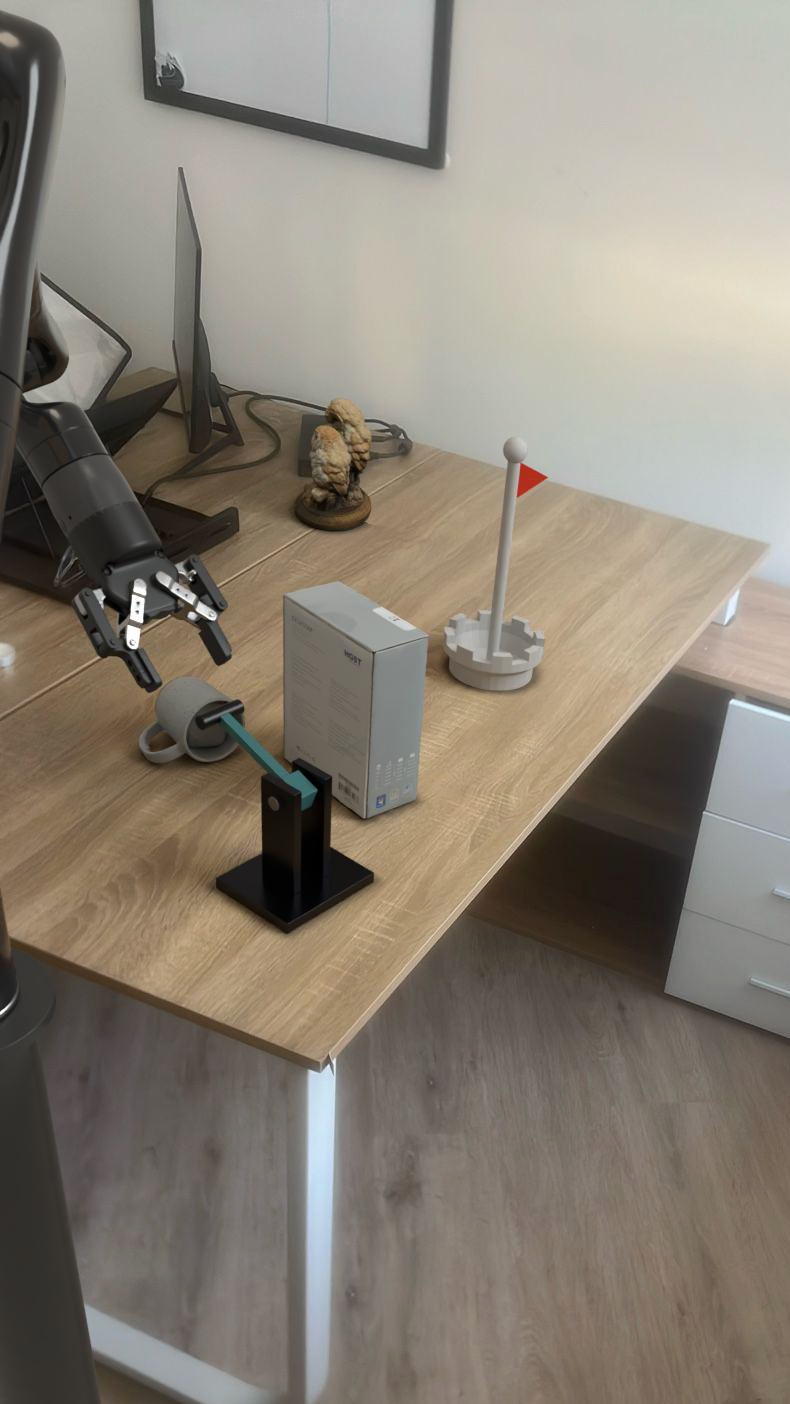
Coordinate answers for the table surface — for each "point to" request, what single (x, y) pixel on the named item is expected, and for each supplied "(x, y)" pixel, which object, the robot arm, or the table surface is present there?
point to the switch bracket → (295, 856)
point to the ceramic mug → (188, 722)
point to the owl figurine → (337, 471)
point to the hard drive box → (353, 695)
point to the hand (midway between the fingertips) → (191, 675)
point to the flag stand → (498, 606)
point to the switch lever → (255, 747)
